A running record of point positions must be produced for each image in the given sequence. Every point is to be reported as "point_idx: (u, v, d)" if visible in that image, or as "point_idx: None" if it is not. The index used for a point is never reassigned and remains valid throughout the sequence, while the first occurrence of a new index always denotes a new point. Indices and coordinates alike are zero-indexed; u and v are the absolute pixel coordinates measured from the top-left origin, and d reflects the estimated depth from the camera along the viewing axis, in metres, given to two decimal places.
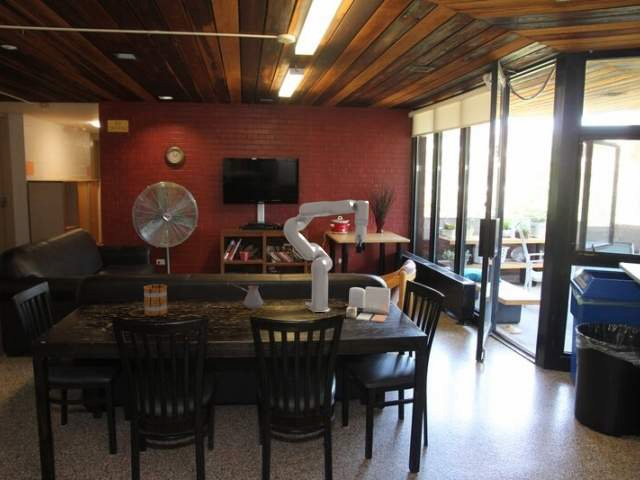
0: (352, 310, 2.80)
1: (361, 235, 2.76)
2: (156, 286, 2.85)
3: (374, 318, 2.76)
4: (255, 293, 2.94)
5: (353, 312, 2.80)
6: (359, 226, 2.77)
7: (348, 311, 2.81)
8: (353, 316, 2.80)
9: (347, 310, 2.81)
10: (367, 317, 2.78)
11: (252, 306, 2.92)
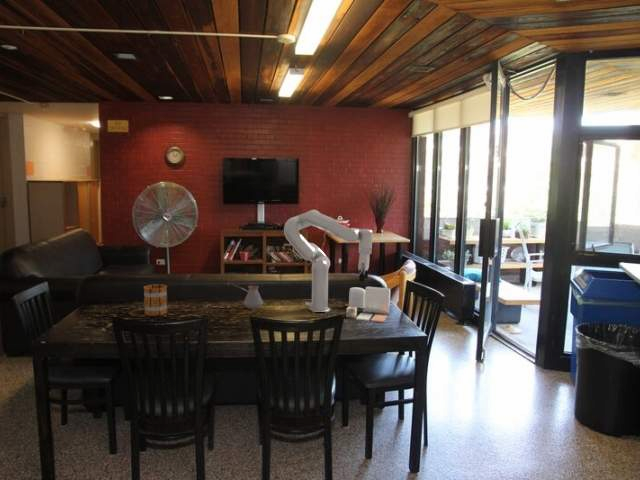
0: (352, 310, 2.80)
1: (365, 263, 2.82)
2: (156, 286, 2.85)
3: (374, 318, 2.76)
4: (255, 293, 2.94)
5: (353, 312, 2.80)
6: (363, 254, 2.82)
7: (348, 311, 2.81)
8: (353, 316, 2.80)
9: (347, 310, 2.81)
10: (367, 317, 2.78)
11: (252, 306, 2.92)
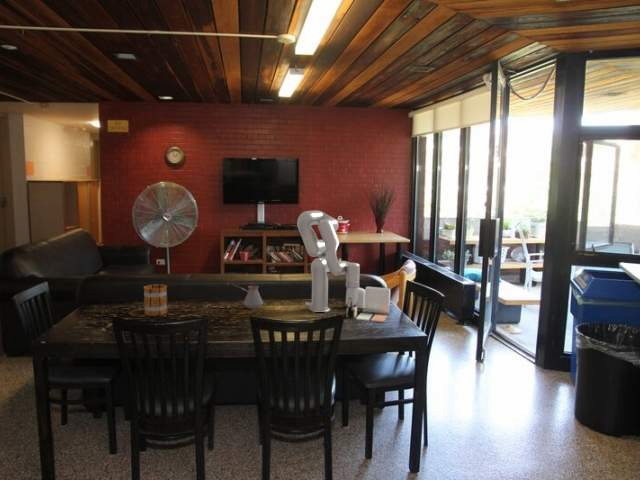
0: None
1: (352, 298, 2.77)
2: (156, 286, 2.85)
3: (374, 318, 2.76)
4: (255, 293, 2.94)
5: (353, 312, 2.80)
6: (350, 289, 2.77)
7: None
8: (353, 316, 2.80)
9: (347, 310, 2.81)
10: (367, 317, 2.78)
11: (252, 306, 2.92)
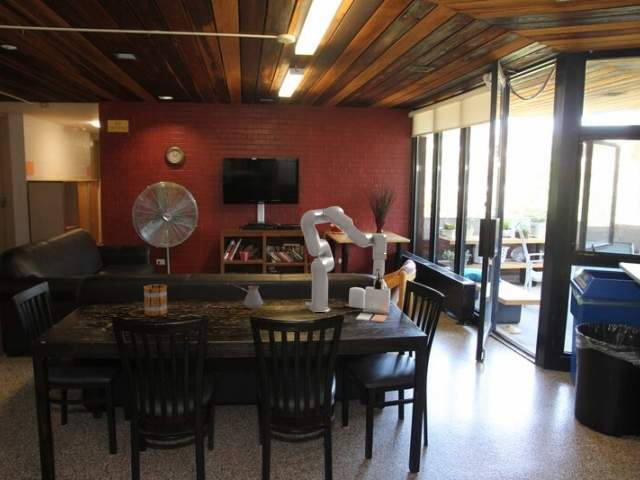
0: None
1: (380, 270, 2.70)
2: (156, 286, 2.85)
3: (374, 318, 2.76)
4: (255, 293, 2.94)
5: (381, 284, 2.73)
6: (377, 260, 2.70)
7: None
8: (381, 288, 2.73)
9: (374, 282, 2.74)
10: (367, 317, 2.78)
11: (252, 306, 2.92)
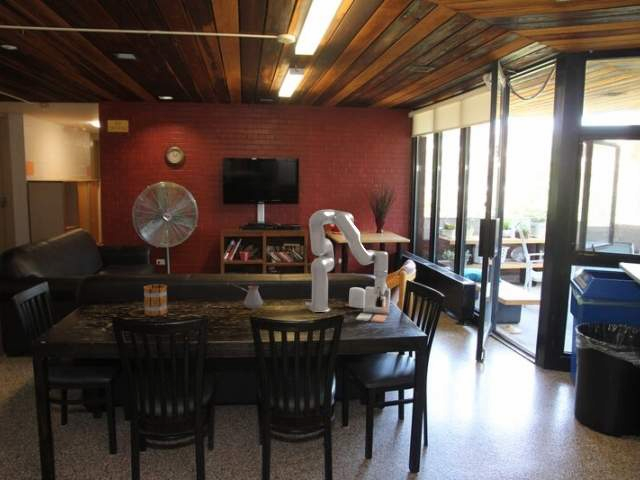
0: None
1: (381, 287, 2.71)
2: (156, 286, 2.85)
3: (374, 318, 2.76)
4: (255, 293, 2.94)
5: (382, 301, 2.74)
6: (378, 278, 2.71)
7: None
8: (382, 305, 2.74)
9: None
10: (367, 317, 2.78)
11: (252, 306, 2.92)
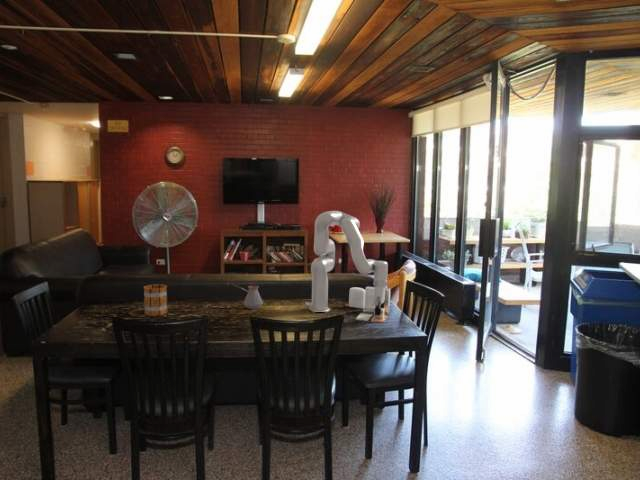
0: None
1: (380, 297, 2.71)
2: (156, 286, 2.85)
3: (374, 318, 2.76)
4: (255, 293, 2.94)
5: (381, 313, 2.75)
6: (378, 288, 2.72)
7: None
8: (381, 317, 2.75)
9: None
10: (367, 317, 2.78)
11: (252, 306, 2.92)
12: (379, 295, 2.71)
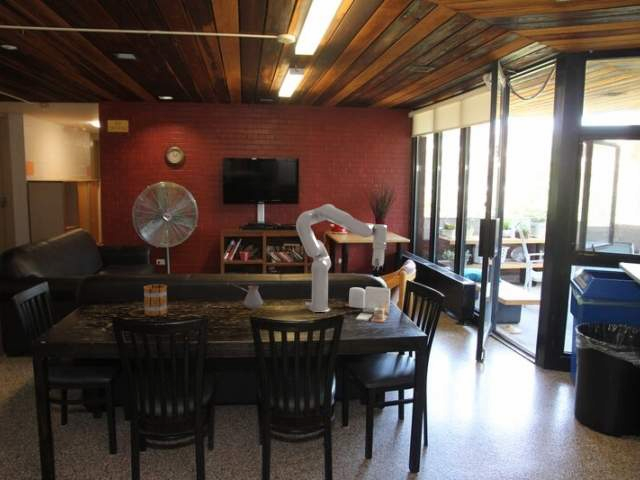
0: (380, 311, 2.75)
1: (379, 259, 2.78)
2: (156, 286, 2.85)
3: (374, 318, 2.76)
4: (255, 293, 2.94)
5: (381, 313, 2.75)
6: (376, 250, 2.78)
7: (375, 312, 2.76)
8: (381, 317, 2.75)
9: (375, 311, 2.76)
10: (367, 317, 2.78)
11: (252, 306, 2.92)
12: (378, 257, 2.78)
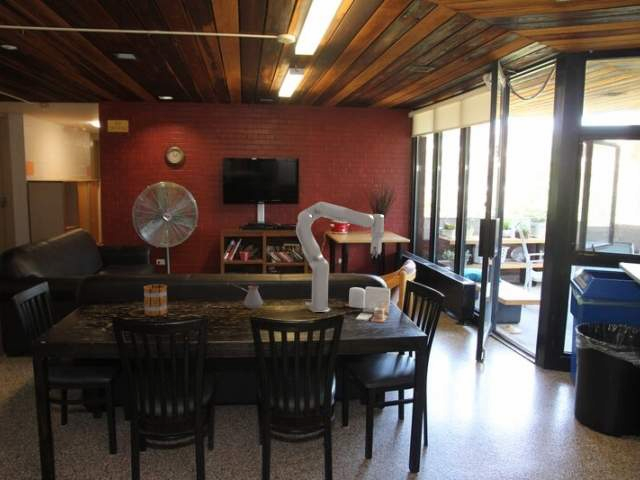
0: (380, 311, 2.75)
1: (377, 247, 2.91)
2: (156, 286, 2.85)
3: (374, 318, 2.76)
4: (255, 293, 2.94)
5: (381, 313, 2.75)
6: (374, 238, 2.91)
7: (375, 312, 2.76)
8: (381, 317, 2.75)
9: (375, 311, 2.76)
10: (367, 317, 2.78)
11: (252, 306, 2.92)
12: (376, 245, 2.91)
